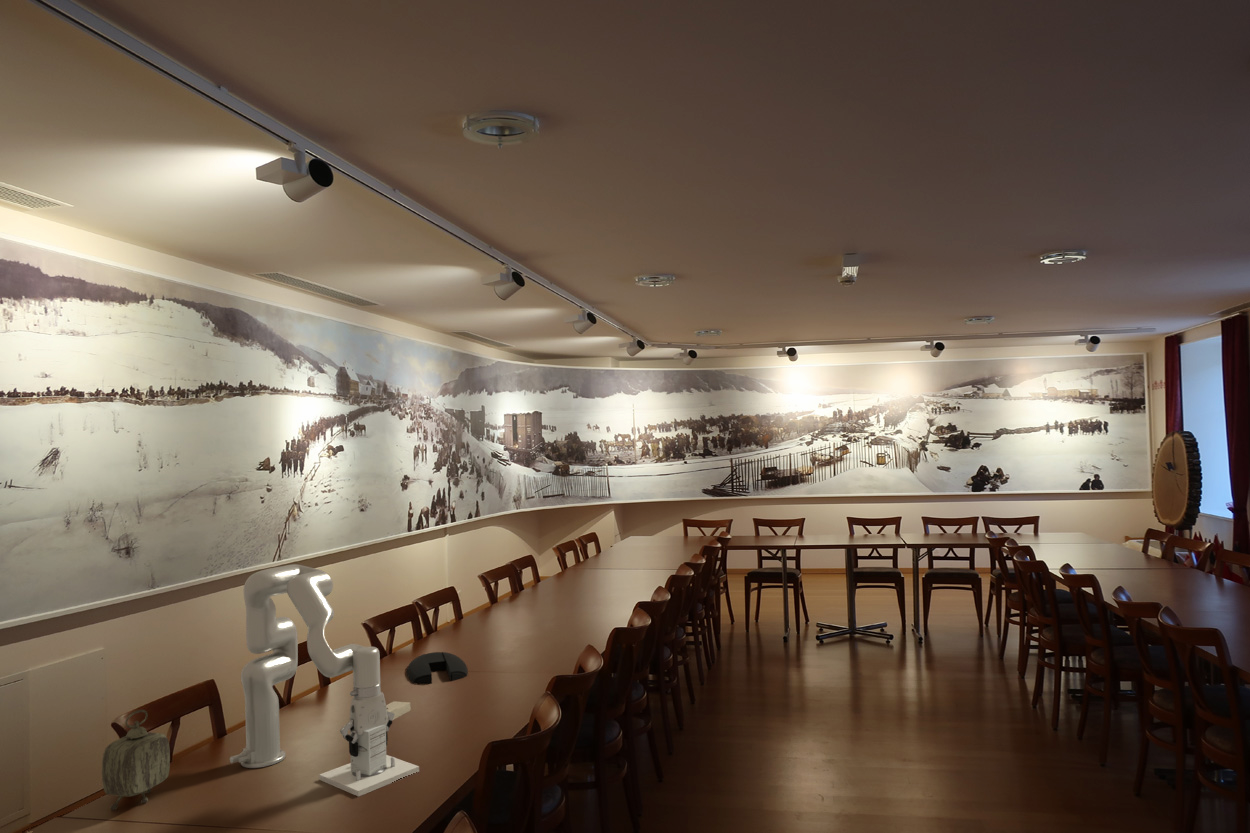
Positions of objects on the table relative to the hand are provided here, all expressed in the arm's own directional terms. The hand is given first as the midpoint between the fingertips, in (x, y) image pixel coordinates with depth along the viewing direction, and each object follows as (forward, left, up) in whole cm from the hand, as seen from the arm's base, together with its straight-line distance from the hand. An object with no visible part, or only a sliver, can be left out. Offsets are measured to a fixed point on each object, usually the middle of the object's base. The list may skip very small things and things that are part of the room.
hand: (368, 750), depth 232 cm
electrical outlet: (+33, +40, -8) cm, 53 cm away
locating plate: (0, 0, -7) cm, 7 cm away
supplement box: (0, 0, -6) cm, 6 cm away
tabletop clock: (-47, +39, -7) cm, 62 cm away
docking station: (+82, +75, -8) cm, 112 cm away
